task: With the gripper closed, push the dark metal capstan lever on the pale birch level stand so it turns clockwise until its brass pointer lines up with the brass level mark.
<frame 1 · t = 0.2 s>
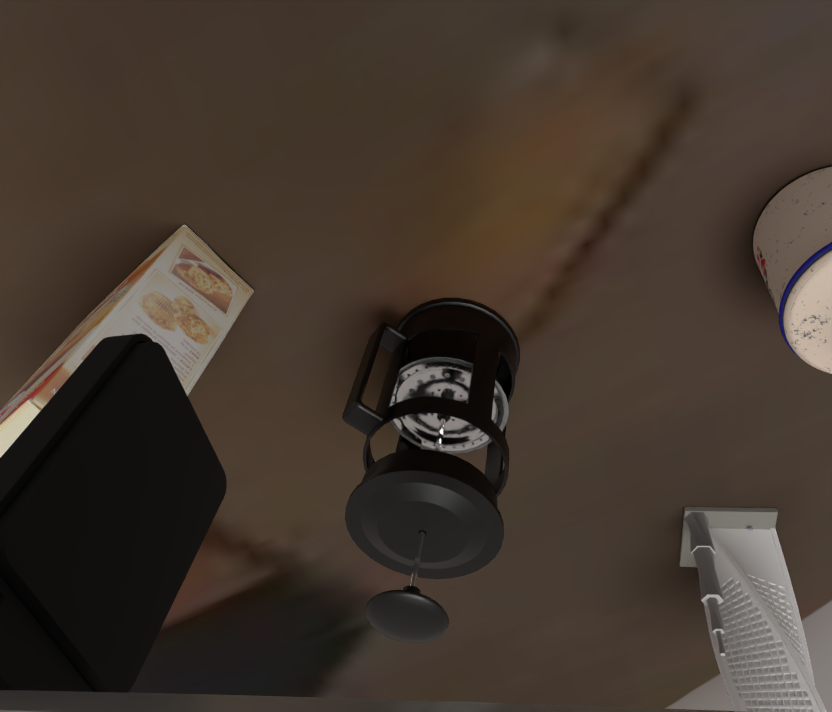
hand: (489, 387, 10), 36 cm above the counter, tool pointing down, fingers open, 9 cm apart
skyscraper: (734, 539, 63), on the counter
french press: (450, 346, 55), on the counter
coffeecake box: (163, 307, 57), on the counter
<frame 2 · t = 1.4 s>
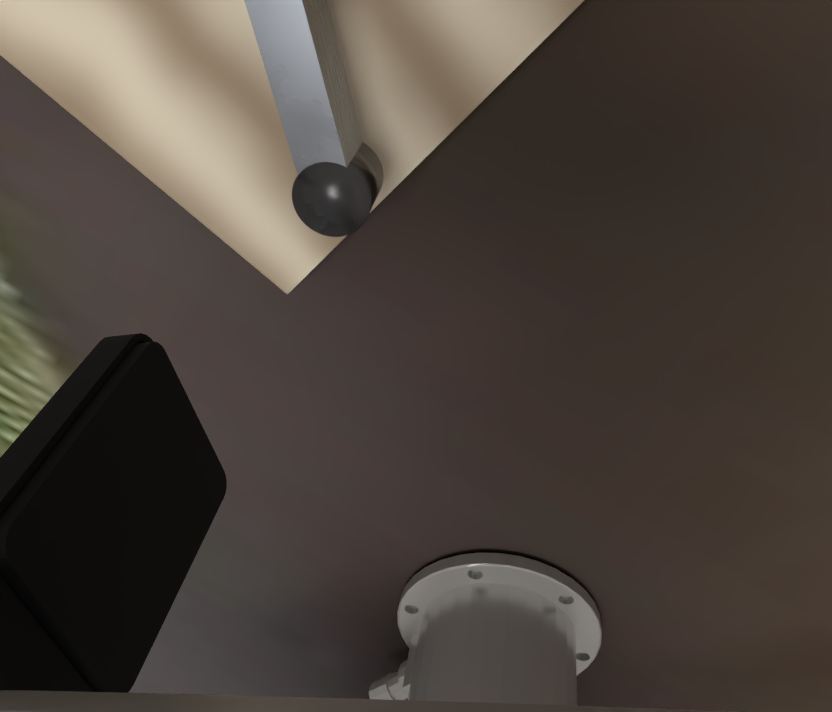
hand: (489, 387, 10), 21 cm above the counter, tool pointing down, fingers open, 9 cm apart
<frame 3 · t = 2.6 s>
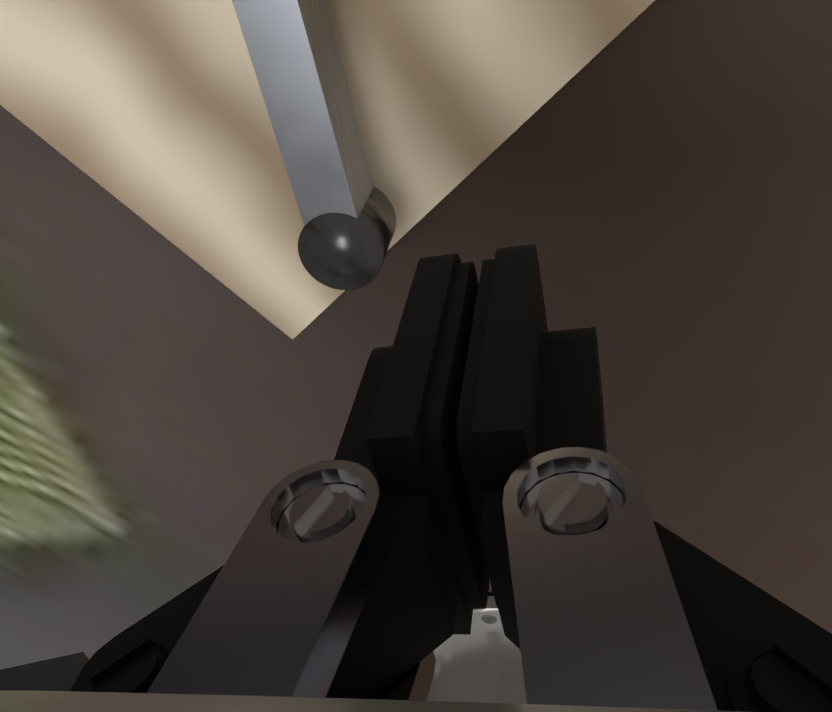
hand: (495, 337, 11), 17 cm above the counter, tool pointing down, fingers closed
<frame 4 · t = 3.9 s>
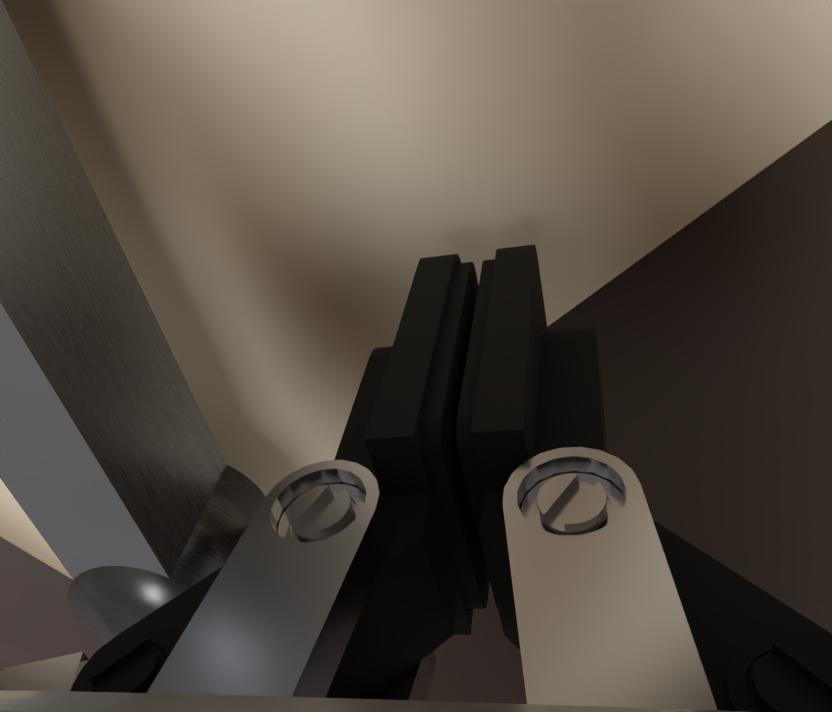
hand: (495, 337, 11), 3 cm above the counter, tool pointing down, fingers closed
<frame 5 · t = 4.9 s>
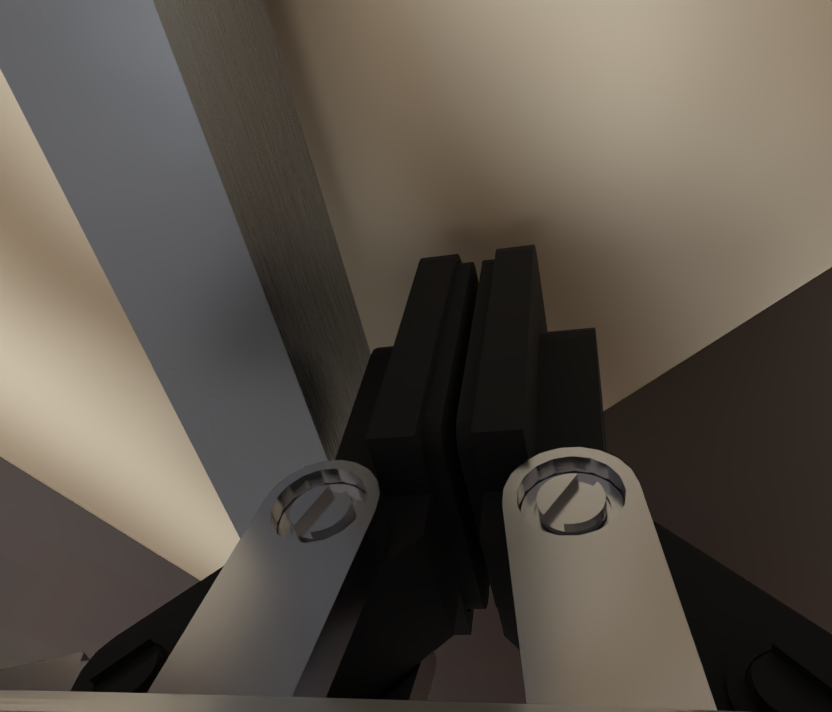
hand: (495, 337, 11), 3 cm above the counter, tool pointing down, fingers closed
capstan lever: (149, 27, 8), point 4 cm above the counter, hinge at 34.1°, touching gripper
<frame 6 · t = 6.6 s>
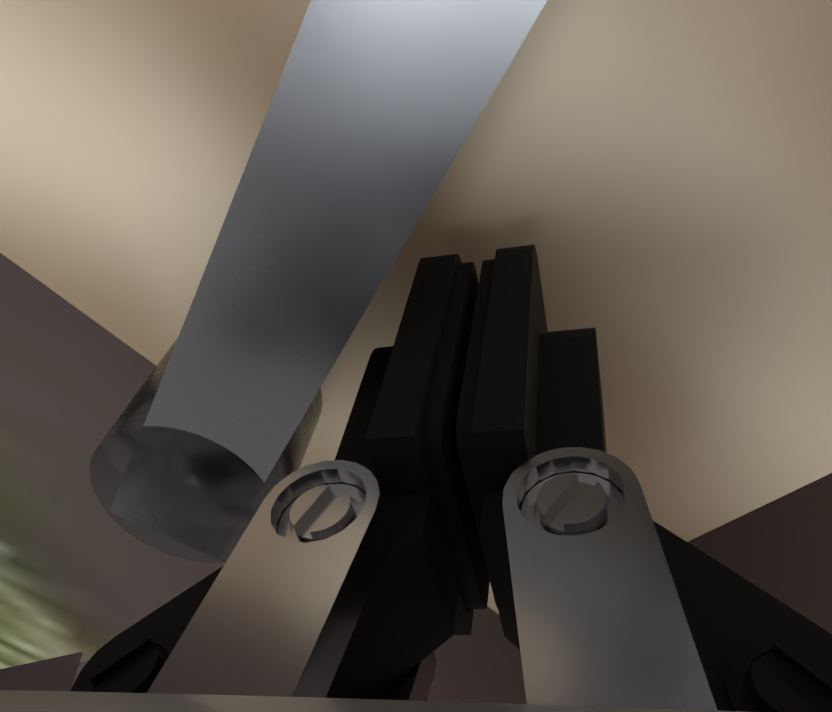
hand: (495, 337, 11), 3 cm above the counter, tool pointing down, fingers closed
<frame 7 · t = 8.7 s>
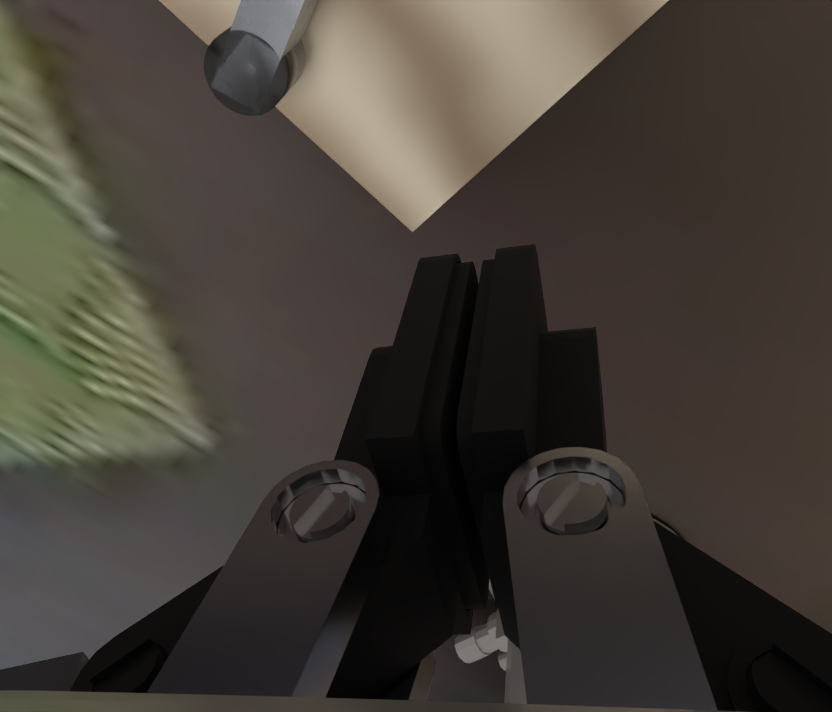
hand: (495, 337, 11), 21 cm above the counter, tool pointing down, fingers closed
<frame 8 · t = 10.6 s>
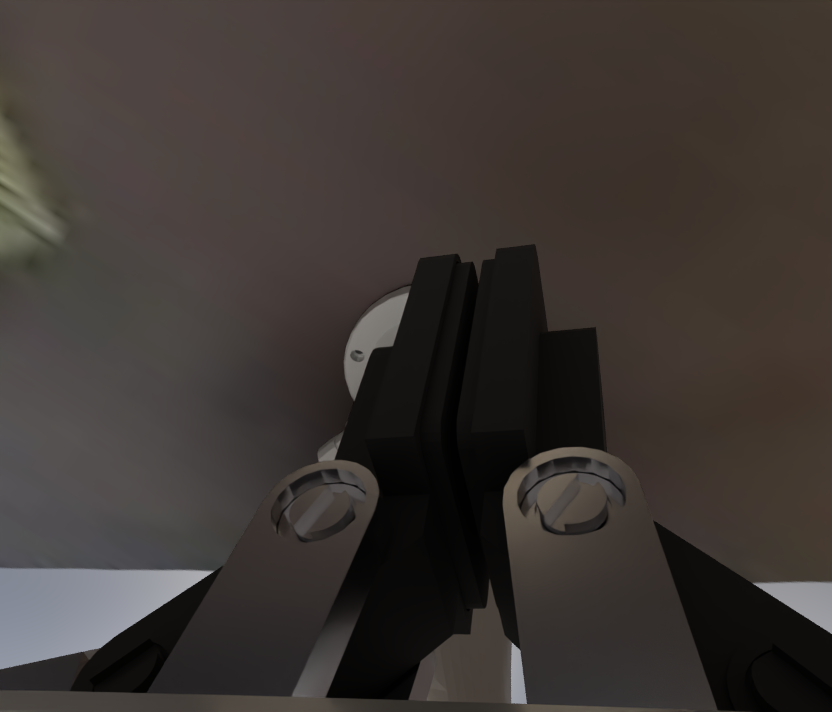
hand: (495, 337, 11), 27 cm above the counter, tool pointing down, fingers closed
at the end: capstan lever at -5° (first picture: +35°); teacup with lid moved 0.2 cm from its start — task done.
